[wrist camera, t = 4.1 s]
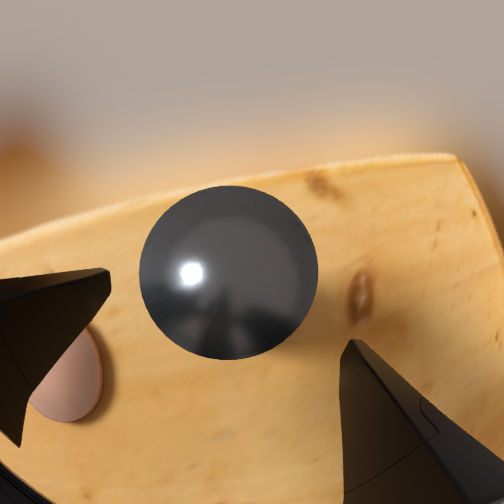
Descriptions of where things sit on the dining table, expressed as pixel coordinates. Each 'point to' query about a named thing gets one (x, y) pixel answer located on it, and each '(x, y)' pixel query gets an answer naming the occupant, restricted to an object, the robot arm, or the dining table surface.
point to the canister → (228, 272)
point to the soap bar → (71, 382)
